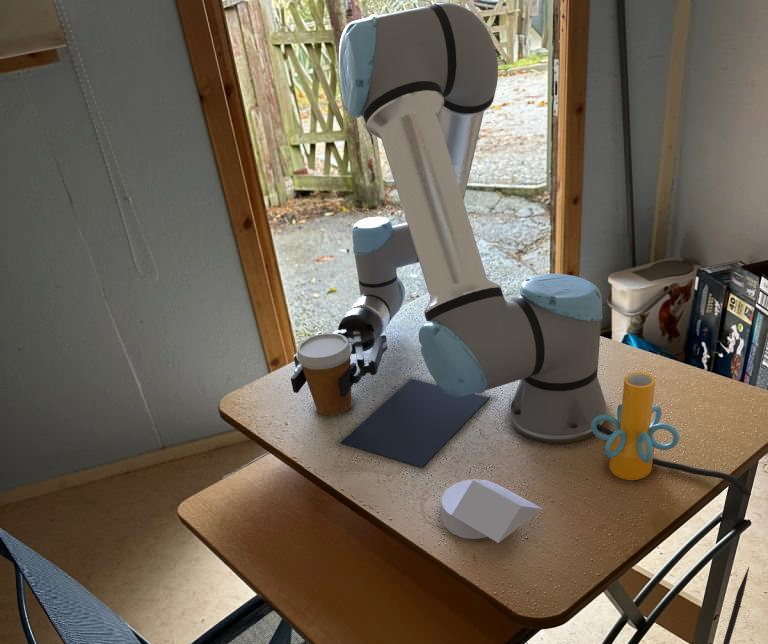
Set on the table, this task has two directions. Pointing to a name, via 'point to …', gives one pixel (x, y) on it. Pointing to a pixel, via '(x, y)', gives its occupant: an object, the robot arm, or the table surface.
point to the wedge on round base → (484, 510)
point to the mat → (414, 423)
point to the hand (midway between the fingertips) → (317, 387)
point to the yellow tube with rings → (634, 429)
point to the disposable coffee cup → (326, 370)
